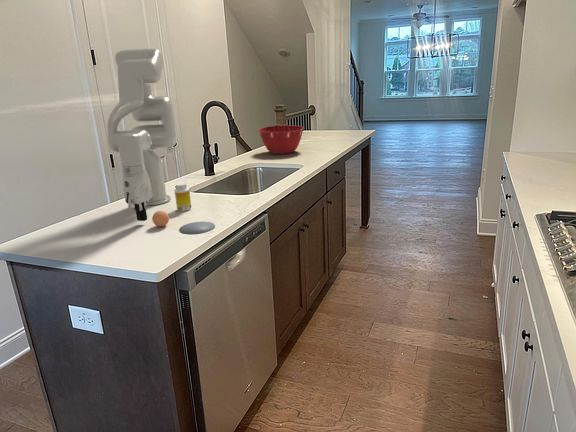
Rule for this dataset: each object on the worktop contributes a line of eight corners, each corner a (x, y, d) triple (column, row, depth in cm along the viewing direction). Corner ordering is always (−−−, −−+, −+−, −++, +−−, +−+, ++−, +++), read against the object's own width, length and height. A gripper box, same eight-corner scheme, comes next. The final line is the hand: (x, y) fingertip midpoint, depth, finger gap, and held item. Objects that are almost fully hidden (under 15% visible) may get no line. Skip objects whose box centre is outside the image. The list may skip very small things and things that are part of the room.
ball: (174, 218, 153) (167, 229, 155) (167, 207, 155) (161, 218, 158) (160, 219, 148) (153, 230, 151) (153, 207, 151) (147, 218, 154)
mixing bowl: (313, 152, 276) (312, 127, 271) (273, 158, 262) (271, 132, 258) (290, 147, 299) (289, 124, 294) (252, 152, 286) (250, 128, 281)
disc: (183, 223, 156) (183, 222, 156) (217, 221, 156) (216, 220, 156) (175, 235, 145) (175, 234, 145) (212, 233, 145) (212, 232, 145)
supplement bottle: (193, 209, 171) (190, 184, 168) (179, 212, 169) (175, 186, 165) (189, 206, 176) (185, 181, 173) (175, 209, 173) (171, 183, 170)
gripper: (129, 175, 143) (138, 227, 149) (156, 165, 157) (163, 214, 162) (110, 174, 146) (119, 226, 151) (138, 165, 159) (146, 213, 165)
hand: (142, 220), depth 157 cm, fingers closed
